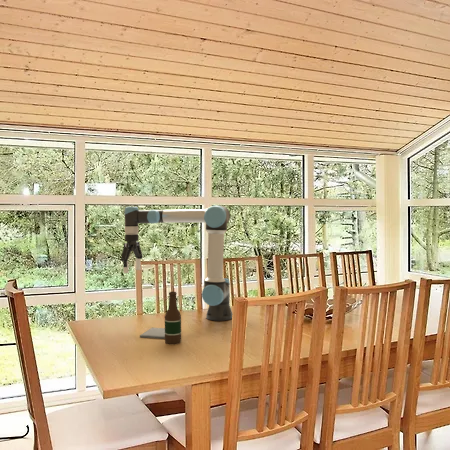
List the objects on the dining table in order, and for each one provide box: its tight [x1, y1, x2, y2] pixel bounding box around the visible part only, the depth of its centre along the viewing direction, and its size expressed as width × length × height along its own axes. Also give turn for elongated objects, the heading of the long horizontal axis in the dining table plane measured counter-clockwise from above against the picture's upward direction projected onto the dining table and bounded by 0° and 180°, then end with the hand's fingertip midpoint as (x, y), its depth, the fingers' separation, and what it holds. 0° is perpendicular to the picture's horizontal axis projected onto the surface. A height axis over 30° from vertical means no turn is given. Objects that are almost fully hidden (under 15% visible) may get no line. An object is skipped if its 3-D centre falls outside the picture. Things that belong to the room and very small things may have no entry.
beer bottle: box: [164, 290, 182, 346], centre depth 224 cm, size 8×8×24 cm
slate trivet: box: [139, 327, 165, 340], centre depth 240 cm, size 16×16×1 cm
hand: (132, 271), depth 270 cm, fingers open, 13 cm apart
